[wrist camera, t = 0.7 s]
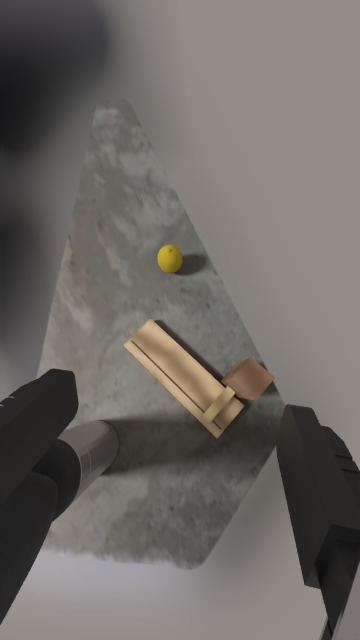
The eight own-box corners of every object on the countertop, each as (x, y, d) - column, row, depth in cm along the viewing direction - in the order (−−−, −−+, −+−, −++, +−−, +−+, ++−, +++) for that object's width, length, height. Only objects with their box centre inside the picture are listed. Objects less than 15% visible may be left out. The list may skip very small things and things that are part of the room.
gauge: (211, 426, 47) (221, 442, 34) (195, 410, 48) (198, 418, 35) (250, 380, 49) (274, 377, 36) (233, 365, 50) (251, 357, 37)
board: (215, 436, 47) (217, 438, 44) (126, 346, 52) (123, 345, 50) (242, 405, 48) (244, 405, 46) (151, 321, 53) (150, 318, 51)
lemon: (177, 281, 56) (176, 264, 48) (156, 274, 57) (151, 256, 49) (186, 262, 57) (186, 242, 50) (165, 255, 58) (161, 234, 50)
